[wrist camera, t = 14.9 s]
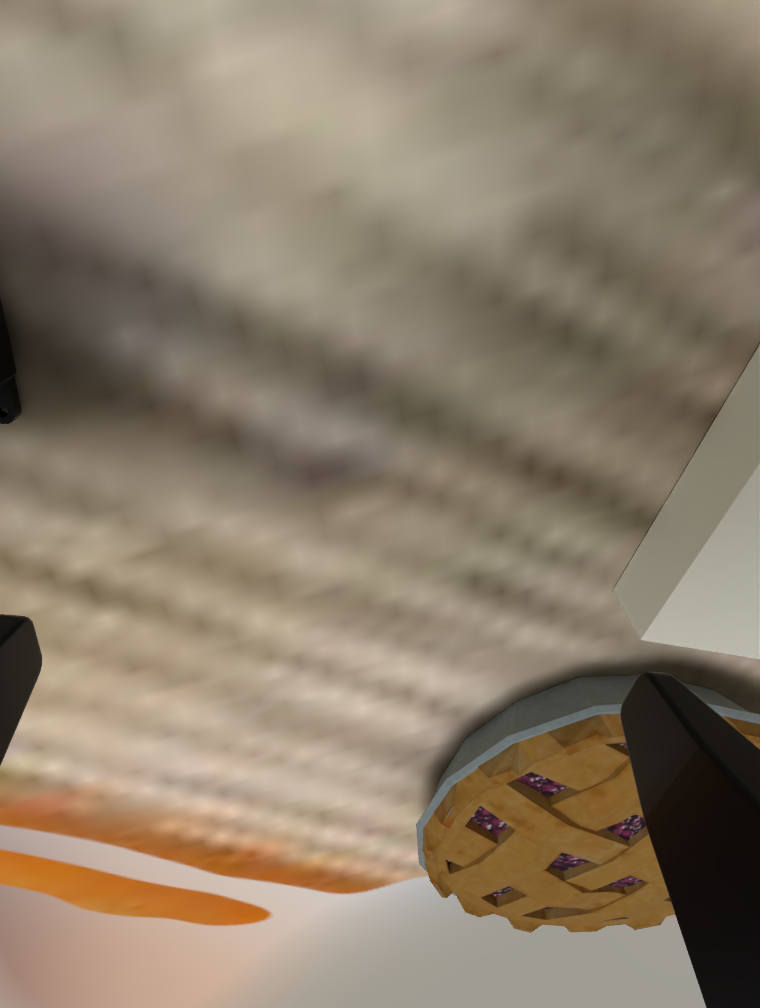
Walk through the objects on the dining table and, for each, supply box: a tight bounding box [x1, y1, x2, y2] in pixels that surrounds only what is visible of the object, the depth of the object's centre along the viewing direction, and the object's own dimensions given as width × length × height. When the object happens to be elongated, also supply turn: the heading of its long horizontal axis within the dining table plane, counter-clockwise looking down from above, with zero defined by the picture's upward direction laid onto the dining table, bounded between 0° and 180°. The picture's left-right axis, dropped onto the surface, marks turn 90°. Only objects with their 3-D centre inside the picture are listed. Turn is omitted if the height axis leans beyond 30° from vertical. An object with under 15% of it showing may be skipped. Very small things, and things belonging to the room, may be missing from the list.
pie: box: [416, 675, 760, 932], centre depth 31 cm, size 22×22×5 cm
